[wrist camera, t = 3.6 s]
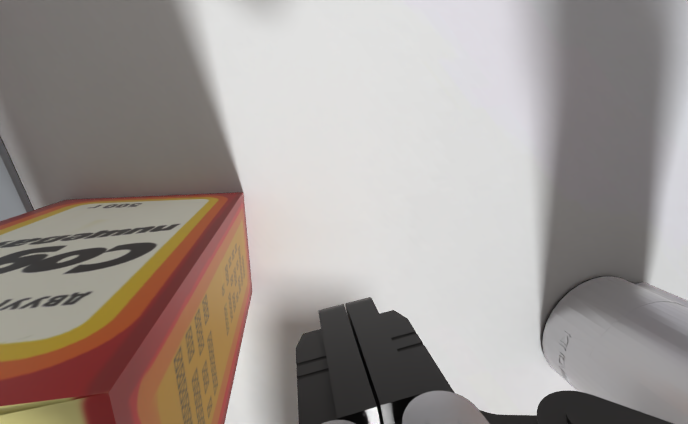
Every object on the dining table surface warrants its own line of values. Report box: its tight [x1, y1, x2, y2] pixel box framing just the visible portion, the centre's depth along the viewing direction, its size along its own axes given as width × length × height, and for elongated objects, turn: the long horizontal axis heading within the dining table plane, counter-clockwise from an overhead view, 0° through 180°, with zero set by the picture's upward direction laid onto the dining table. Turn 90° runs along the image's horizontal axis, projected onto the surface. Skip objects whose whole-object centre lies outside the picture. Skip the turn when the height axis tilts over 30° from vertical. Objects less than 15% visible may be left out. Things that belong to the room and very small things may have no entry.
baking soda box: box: [0, 192, 252, 424], centre depth 12 cm, size 10×6×16 cm
